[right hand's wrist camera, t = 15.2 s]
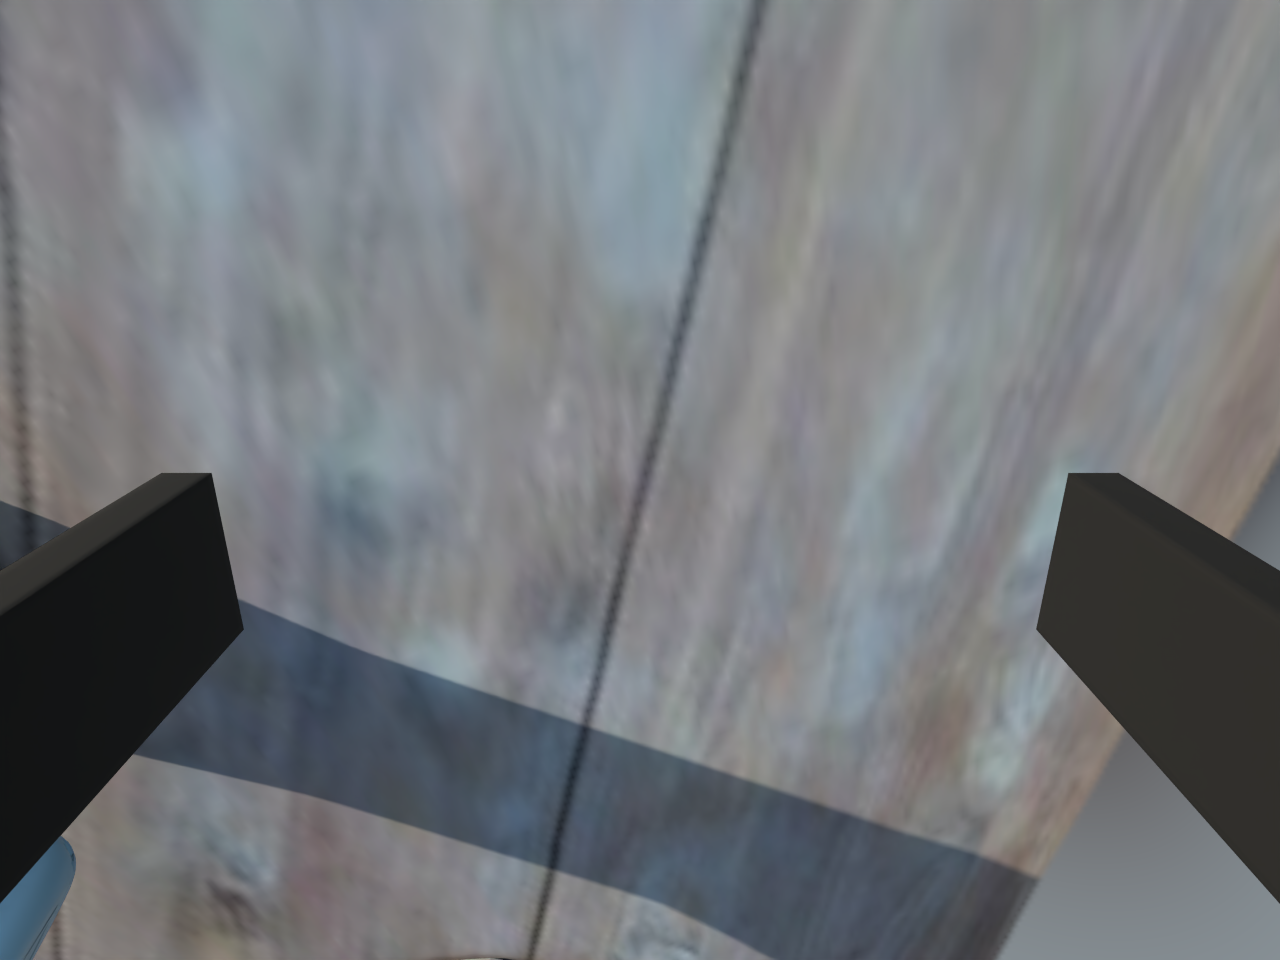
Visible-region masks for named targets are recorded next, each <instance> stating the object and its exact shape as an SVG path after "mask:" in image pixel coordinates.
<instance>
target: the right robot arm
mask: <svg viewBox="0 0 1280 960" xmlns="http://www.w3.org/2000/svg"><path fill="white" fill-rule="evenodd" d="M243 630H244V628H243V624H242V619H241V614H240V609H239V604H238V599H237V594H236V590H235V585H234V580H233V575H232V570H231V565H230V560H229V556H228V551H227V546H226V541H225V536H224V531H223V526H222V522H221V517H220V512H219V507H218V502H217V497H216V492H215V488H214V483H213V478H212V473H161V474H159V475H158V476H156V477H154V478H153V479H151V480H149V481H148V482H146V483H144V484H143V485H141V486H139V487H138V488H136V489H134V490H133V491H131V492H129V493H128V494H126V495H125V496H123V497H121V498H120V499H118V500H116V501H115V502H113V503H111V504H110V505H108V506H106V507H105V508H103V509H101V510H100V511H98V512H97V513H95V514H93V515H92V516H90V517H88V518H87V519H85V520H83V521H82V522H80V523H78V524H77V525H75V526H73V527H72V528H70V529H68V530H67V531H65V532H64V533H62V534H60V535H59V536H57V537H55V538H54V539H52V540H50V541H49V542H47V543H45V544H44V545H42V546H40V547H39V548H37V549H35V550H34V551H32V552H31V553H29V554H27V555H26V556H24V557H22V558H21V559H19V560H17V561H16V562H14V563H12V564H11V565H9V566H7V567H6V568H4V569H3V570H1V571H0V903H1V902H2V901H3V900H4V899H5V898H6V896H7V895H8V894H9V893H10V892H11V891H12V890H13V889H14V887H15V886H16V885H17V884H18V883H19V882H20V881H21V880H22V878H23V877H24V876H25V875H26V874H27V873H28V872H29V871H30V869H31V868H32V867H33V866H34V865H35V864H36V863H37V862H38V860H39V859H40V858H41V857H42V856H43V855H44V854H45V853H46V851H47V850H48V849H49V848H50V847H51V846H52V845H53V844H54V842H55V841H56V840H57V839H58V838H59V837H60V836H61V835H62V833H63V832H64V831H65V830H66V829H67V828H68V827H69V826H70V824H71V823H72V822H73V821H74V820H75V819H76V818H77V817H78V815H79V814H80V813H81V812H82V811H83V810H84V809H85V807H86V806H87V805H88V804H89V803H90V802H91V801H92V800H93V798H94V797H95V796H96V795H97V794H98V793H99V792H100V791H101V789H102V788H103V787H104V786H105V785H106V784H107V783H108V782H109V780H110V779H111V778H112V777H113V776H114V775H115V774H116V773H117V771H118V770H119V769H120V768H121V767H122V766H123V765H124V764H125V762H126V761H127V760H128V759H129V758H130V757H131V756H132V755H133V753H134V752H135V751H136V750H137V749H138V748H139V747H140V746H141V744H142V743H143V742H144V741H145V740H146V739H147V738H148V737H149V735H150V734H151V733H152V732H153V731H154V730H155V729H156V728H157V726H158V725H159V724H160V723H161V722H162V721H163V720H164V719H165V717H166V716H167V715H168V714H169V713H170V712H171V711H172V710H173V708H174V707H175V706H176V705H177V704H178V703H179V702H180V700H181V699H182V698H183V697H184V696H185V695H186V694H187V693H188V691H189V690H190V689H191V688H192V687H193V686H194V685H195V684H196V682H197V681H198V680H199V679H200V678H201V677H202V676H203V675H204V673H205V672H206V671H207V670H208V669H209V668H210V667H211V666H212V664H213V663H214V662H215V661H216V660H217V659H218V658H219V657H220V655H221V654H222V653H223V652H224V651H225V650H226V649H227V648H228V646H229V645H230V644H231V643H232V642H233V641H234V640H235V639H236V637H237V636H238V635H239V634H240V633H241V632H242V631H243ZM1036 630H1037V631H1038V632H1039V633H1040V634H1041V635H1042V636H1043V637H1044V639H1045V640H1046V641H1047V642H1048V643H1049V644H1050V645H1051V646H1052V648H1053V649H1054V650H1055V651H1056V652H1057V653H1058V654H1059V655H1060V657H1061V658H1062V659H1063V660H1064V661H1065V662H1066V663H1067V664H1068V666H1069V667H1070V668H1071V669H1072V670H1073V671H1074V672H1075V673H1076V675H1077V676H1078V677H1079V678H1080V679H1081V680H1082V681H1083V682H1084V684H1085V685H1086V686H1087V687H1088V688H1089V689H1090V690H1091V691H1092V693H1093V694H1094V695H1095V696H1096V697H1097V698H1098V699H1099V700H1100V702H1101V703H1102V704H1103V705H1104V706H1105V707H1106V708H1107V710H1108V711H1109V712H1110V713H1111V714H1112V715H1113V716H1114V717H1115V719H1116V720H1117V721H1118V722H1119V723H1120V724H1121V725H1122V726H1123V728H1124V729H1125V730H1126V731H1127V732H1128V733H1129V734H1130V735H1131V736H1132V738H1133V739H1134V740H1135V741H1136V742H1137V743H1138V744H1139V745H1140V747H1141V748H1142V749H1143V750H1144V751H1145V752H1146V753H1147V755H1148V756H1149V757H1150V758H1151V759H1152V760H1153V761H1154V762H1155V763H1156V765H1157V766H1158V767H1159V768H1160V769H1161V770H1162V771H1163V773H1164V774H1165V775H1166V776H1167V777H1168V778H1169V779H1170V780H1171V782H1172V783H1173V784H1174V785H1175V786H1176V787H1177V788H1178V789H1179V791H1180V792H1181V793H1182V794H1183V795H1184V796H1185V797H1186V798H1187V800H1188V801H1189V802H1190V803H1191V804H1192V805H1193V806H1194V807H1195V809H1196V810H1197V811H1198V812H1199V813H1200V814H1201V815H1202V816H1203V818H1204V819H1205V820H1206V821H1207V822H1208V823H1209V824H1210V826H1211V827H1212V828H1213V829H1214V830H1215V831H1216V832H1217V833H1218V835H1219V836H1220V837H1221V838H1222V839H1223V840H1224V841H1225V842H1226V844H1227V845H1228V846H1229V847H1230V848H1231V849H1232V850H1233V851H1234V852H1235V854H1236V855H1237V856H1238V857H1239V858H1240V859H1241V860H1242V862H1243V863H1244V864H1245V865H1246V866H1247V867H1248V868H1249V869H1250V871H1251V872H1252V873H1253V874H1254V875H1255V876H1256V877H1257V878H1258V880H1259V881H1260V882H1261V883H1262V884H1263V885H1264V886H1265V887H1266V889H1267V890H1268V891H1269V892H1270V893H1271V894H1272V895H1273V896H1274V898H1275V899H1276V900H1277V901H1278V902H1279V903H1280V571H1279V570H1277V569H1276V568H1274V567H1272V566H1271V565H1269V564H1268V563H1266V562H1264V561H1263V560H1261V559H1259V558H1258V557H1256V556H1254V555H1253V554H1251V553H1249V552H1248V551H1246V550H1244V549H1243V548H1241V547H1240V546H1238V545H1236V544H1235V543H1233V542H1231V541H1230V540H1228V539H1226V538H1225V537H1223V536H1221V535H1220V534H1218V533H1216V532H1215V531H1213V530H1212V529H1210V528H1208V527H1207V526H1205V525H1203V524H1202V523H1200V522H1198V521H1197V520H1195V519H1193V518H1192V517H1190V516H1188V515H1187V514H1185V513H1183V512H1182V511H1180V510H1179V509H1177V508H1175V507H1174V506H1172V505H1170V504H1169V503H1167V502H1165V501H1164V500H1162V499H1160V498H1159V497H1157V496H1155V495H1154V494H1152V493H1151V492H1149V491H1147V490H1146V489H1144V488H1142V487H1141V486H1139V485H1137V484H1136V483H1134V482H1132V481H1131V480H1129V479H1127V478H1126V477H1124V476H1122V475H1121V474H1119V473H1068V478H1067V483H1066V488H1065V492H1064V497H1063V502H1062V507H1061V512H1060V517H1059V522H1058V526H1057V531H1056V536H1055V541H1054V546H1053V551H1052V556H1051V560H1050V565H1049V570H1048V575H1047V580H1046V585H1045V590H1044V594H1043V599H1042V604H1041V609H1040V614H1039V619H1038V624H1037V628H1036Z"/></svg>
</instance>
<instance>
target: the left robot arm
mask: <svg viewBox="0 0 1280 960" xmlns="http://www.w3.org/2000/svg"><path fill="white" fill-rule="evenodd" d="M75 870H76V859H75V855H74V852H73V849H72V847H71V845H70V844H69V843H68V841H66V840H65V839H64V838H63V837H62V836H60V837H59V838H58V839H57V840H56V841H55V842H54V844H53V845H52V846H51V847H50V848H49V849H48V850H47V851H46V853H45V854H44V855H43V856H42V857H41V858H40V859H39V860H38V862H37V863H36V864H35V865H34V866H33V867H32V868H31V869H30V871H29V872H28V873H27V874H26V875H25V876H24V877H23V878H22V880H21V881H20V882H19V883H18V884H17V885H16V886H15V887H14V889H13V890H12V891H11V892H10V893H9V894H8V895H7V896H6V898H5V899H4V900H3V901H2V902H1V903H0V960H33V958H34V956H35V954H36V952H37V951H38V949H39V947H40V945H41V943H42V941H43V940H44V938H45V936H46V934H47V932H48V930H49V928H50V927H51V925H52V923H53V921H54V919H55V917H56V915H57V913H58V911H59V909H60V907H61V905H62V903H63V901H64V899H65V897H66V895H67V893H68V891H69V889H70V887H71V884H72V881H73V878H74V875H75Z"/></svg>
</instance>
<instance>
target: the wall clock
mask: <svg viewBox="0 0 1280 960" xmlns="http://www.w3.org/2000/svg"><path fill="white" fill-rule="evenodd" d="M463 960H501V959H494V958H482V959H463Z"/></svg>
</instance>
